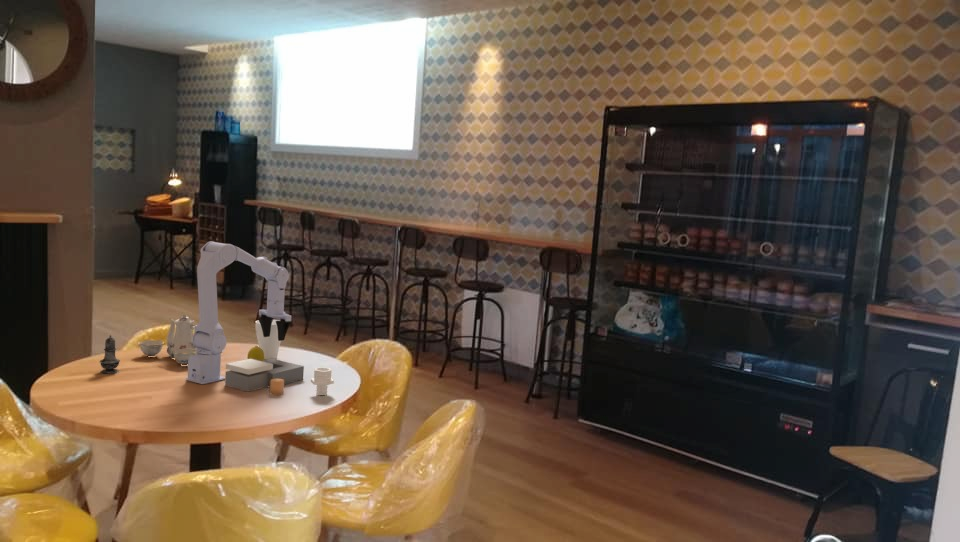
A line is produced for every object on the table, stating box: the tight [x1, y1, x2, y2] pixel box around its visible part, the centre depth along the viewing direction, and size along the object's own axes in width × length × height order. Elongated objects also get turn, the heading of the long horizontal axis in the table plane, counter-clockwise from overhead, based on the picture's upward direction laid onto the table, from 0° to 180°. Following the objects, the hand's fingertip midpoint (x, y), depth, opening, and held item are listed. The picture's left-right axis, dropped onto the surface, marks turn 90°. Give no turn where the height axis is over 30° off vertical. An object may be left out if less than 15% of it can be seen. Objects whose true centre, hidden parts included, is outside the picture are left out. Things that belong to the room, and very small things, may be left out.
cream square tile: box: [225, 358, 273, 375], centre depth 223 cm, size 10×10×2 cm
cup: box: [254, 319, 282, 361], centre depth 259 cm, size 10×10×14 cm
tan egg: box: [269, 379, 285, 396], centre depth 217 cm, size 4×4×4 cm
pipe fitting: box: [310, 366, 335, 396], centre depth 219 cm, size 6×7×8 cm
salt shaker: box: [99, 335, 121, 375], centre depth 226 cm, size 6×6×12 cm
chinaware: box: [137, 312, 198, 365], centre depth 247 cm, size 28×17×17 cm, turn 67°
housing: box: [224, 359, 305, 392], centre depth 228 cm, size 22×14×4 cm, turn 151°
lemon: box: [246, 345, 265, 361], centre depth 243 cm, size 6×6×8 cm
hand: (273, 338), depth 247 cm, fingers open, 7 cm apart
